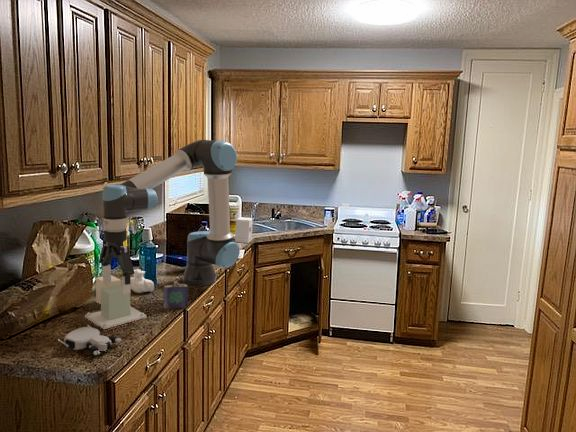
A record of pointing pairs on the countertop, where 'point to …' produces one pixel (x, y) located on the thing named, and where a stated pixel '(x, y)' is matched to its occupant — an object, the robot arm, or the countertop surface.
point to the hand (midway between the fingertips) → (116, 287)
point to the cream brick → (104, 286)
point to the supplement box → (243, 230)
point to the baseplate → (107, 323)
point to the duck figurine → (140, 282)
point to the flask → (175, 296)
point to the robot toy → (88, 340)
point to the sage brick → (114, 302)
